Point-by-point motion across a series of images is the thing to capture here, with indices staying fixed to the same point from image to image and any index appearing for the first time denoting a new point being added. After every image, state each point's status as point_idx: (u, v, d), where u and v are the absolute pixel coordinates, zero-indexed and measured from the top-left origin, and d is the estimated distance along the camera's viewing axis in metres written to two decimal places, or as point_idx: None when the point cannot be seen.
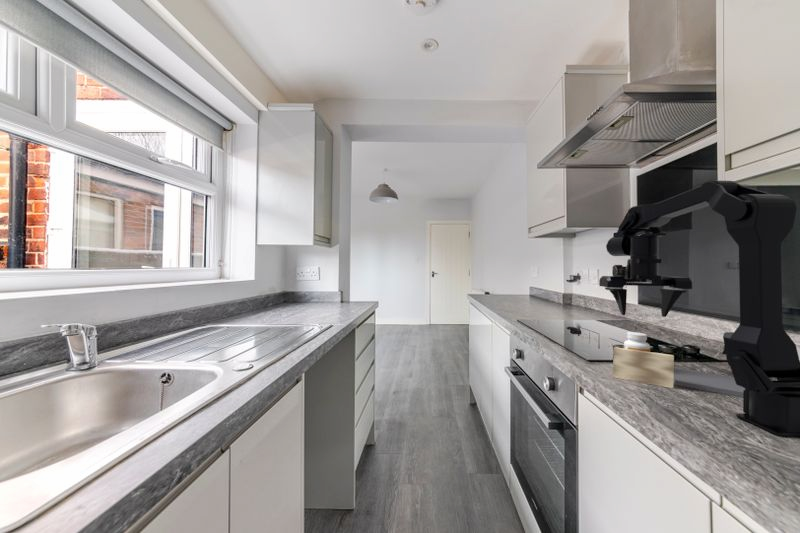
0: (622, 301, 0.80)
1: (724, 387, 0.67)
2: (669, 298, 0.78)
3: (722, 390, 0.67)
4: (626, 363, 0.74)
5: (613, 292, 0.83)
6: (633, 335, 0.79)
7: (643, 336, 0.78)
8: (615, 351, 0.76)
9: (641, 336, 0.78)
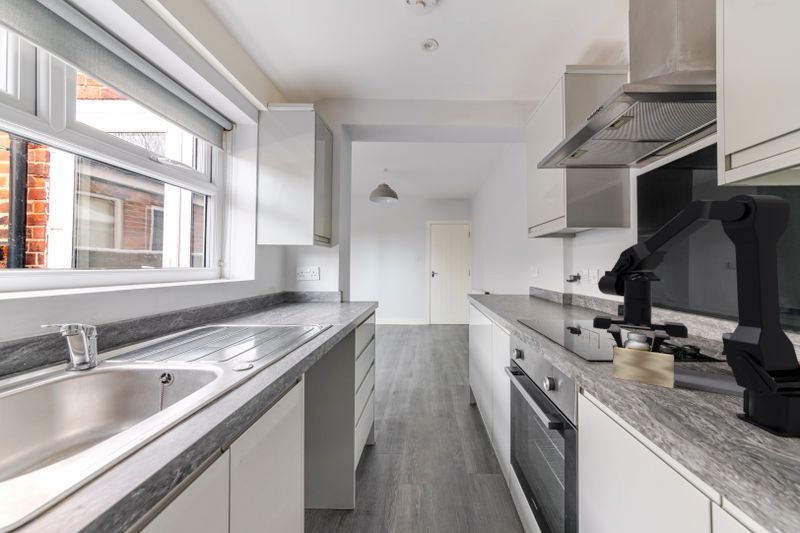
0: (617, 343, 0.81)
1: (724, 387, 0.67)
2: (652, 344, 0.77)
3: (722, 390, 0.67)
4: (626, 363, 0.74)
5: None
6: (633, 335, 0.79)
7: (643, 336, 0.78)
8: (615, 351, 0.76)
9: (641, 336, 0.78)
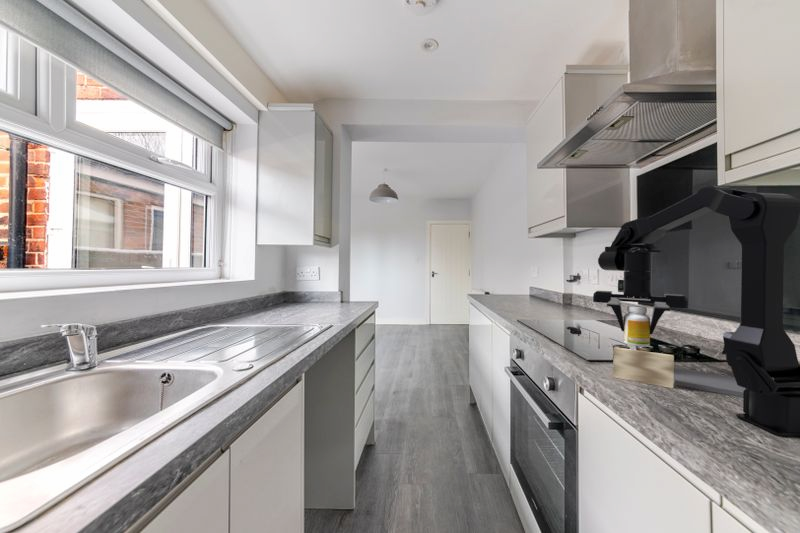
0: (618, 317, 0.81)
1: (724, 387, 0.67)
2: (652, 315, 0.77)
3: (722, 390, 0.67)
4: (626, 363, 0.74)
5: None
6: (633, 308, 0.79)
7: (643, 308, 0.78)
8: (615, 351, 0.76)
9: (641, 308, 0.78)
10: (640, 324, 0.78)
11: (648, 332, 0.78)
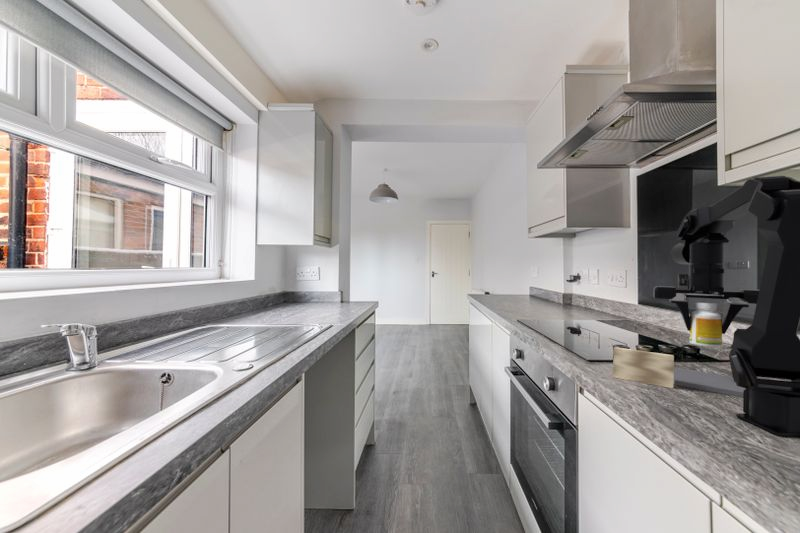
0: (684, 314, 0.73)
1: (724, 387, 0.67)
2: (726, 313, 0.69)
3: (722, 390, 0.67)
4: (626, 363, 0.74)
5: (677, 304, 0.76)
6: (703, 304, 0.71)
7: (715, 305, 0.70)
8: (615, 351, 0.76)
9: (712, 305, 0.70)
10: (712, 323, 0.70)
11: (721, 331, 0.70)
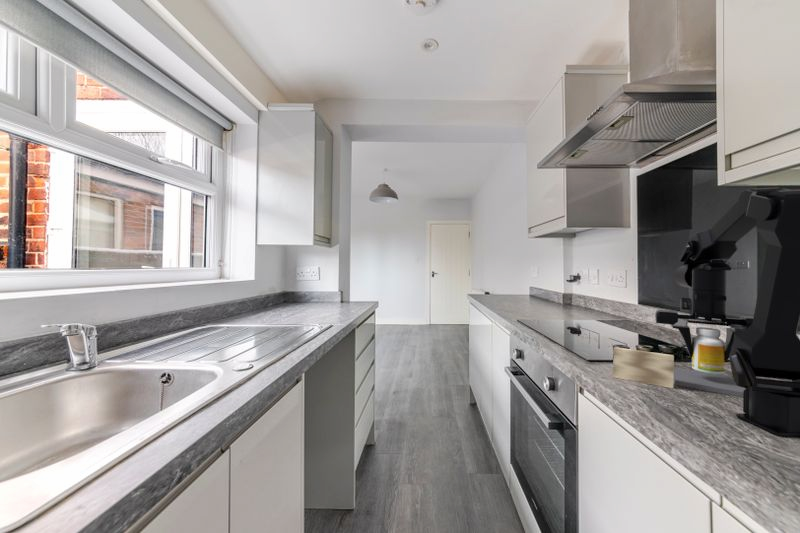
0: (686, 340, 0.73)
1: (724, 387, 0.67)
2: (729, 340, 0.69)
3: (722, 390, 0.67)
4: (626, 363, 0.74)
5: None
6: (705, 330, 0.71)
7: (717, 332, 0.70)
8: (615, 351, 0.76)
9: (715, 332, 0.70)
10: (714, 350, 0.70)
11: (723, 358, 0.70)
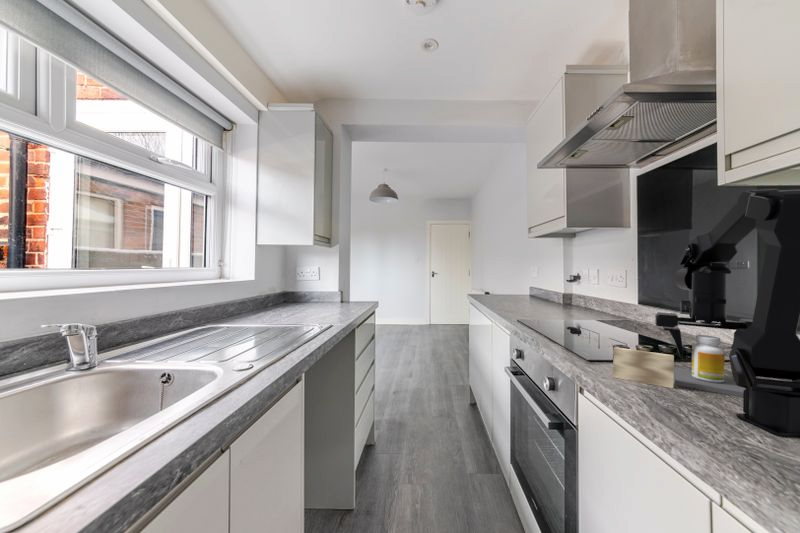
0: (676, 342, 0.74)
1: (724, 387, 0.67)
2: None
3: (722, 390, 0.67)
4: (626, 363, 0.74)
5: None
6: (705, 338, 0.71)
7: (717, 340, 0.70)
8: (615, 351, 0.76)
9: (715, 340, 0.70)
10: (714, 358, 0.70)
11: (723, 366, 0.70)
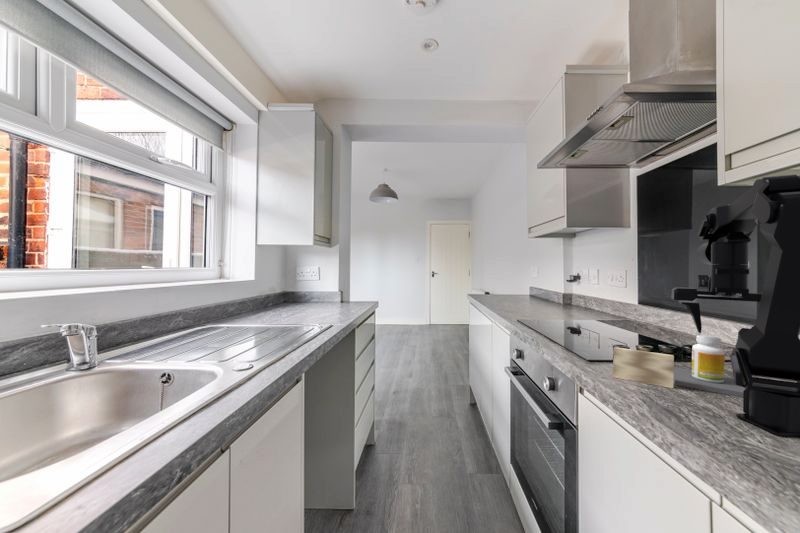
0: (695, 316, 0.71)
1: (724, 387, 0.67)
2: None
3: (722, 390, 0.67)
4: (626, 363, 0.74)
5: (688, 306, 0.74)
6: (705, 339, 0.71)
7: (717, 340, 0.70)
8: (615, 351, 0.76)
9: (715, 340, 0.70)
10: (714, 358, 0.70)
11: (723, 367, 0.70)
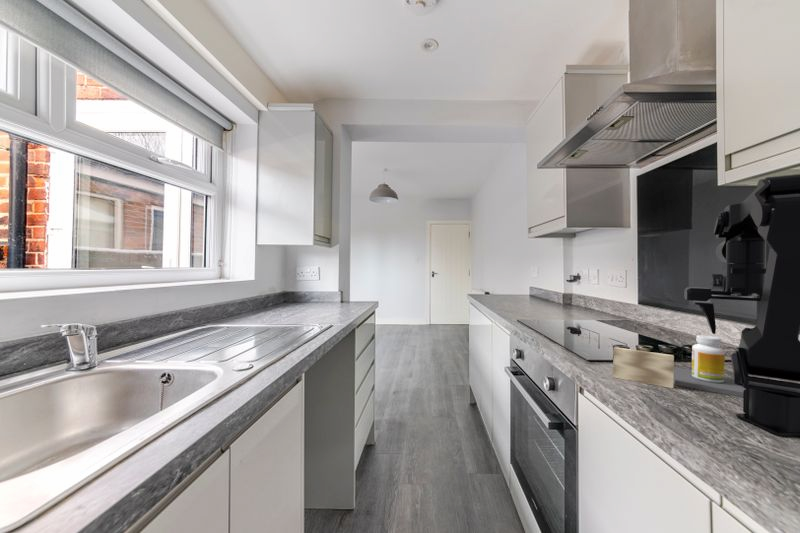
0: (709, 317, 0.69)
1: (724, 387, 0.67)
2: None
3: (722, 390, 0.67)
4: (626, 363, 0.74)
5: (701, 306, 0.72)
6: (705, 339, 0.71)
7: (717, 340, 0.70)
8: (615, 351, 0.76)
9: (715, 340, 0.70)
10: (714, 358, 0.70)
11: (723, 366, 0.70)
